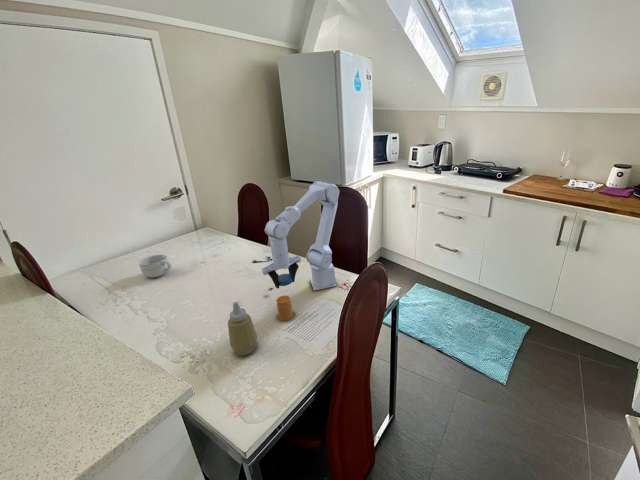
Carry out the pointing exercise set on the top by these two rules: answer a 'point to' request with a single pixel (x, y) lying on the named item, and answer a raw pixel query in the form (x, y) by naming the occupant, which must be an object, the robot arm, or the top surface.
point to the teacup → (154, 265)
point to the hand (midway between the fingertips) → (284, 284)
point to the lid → (285, 279)
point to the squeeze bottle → (241, 331)
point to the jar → (284, 308)
